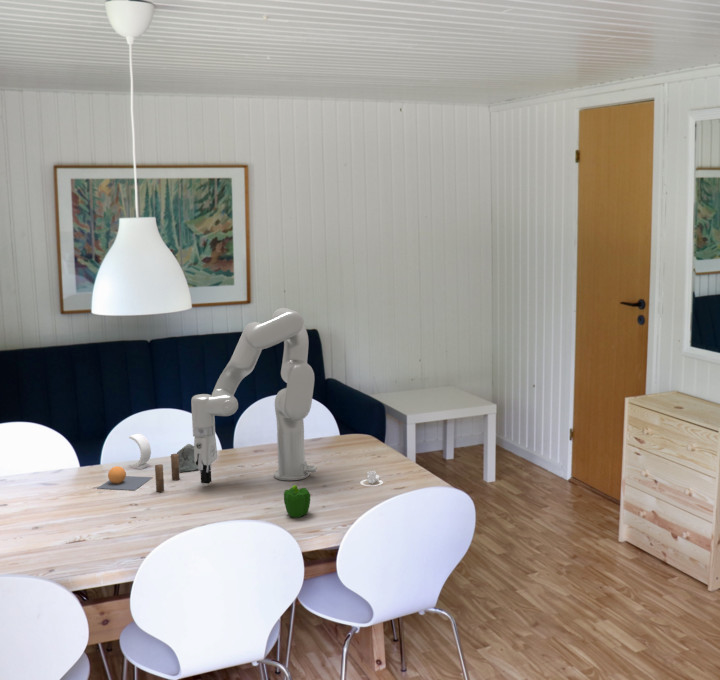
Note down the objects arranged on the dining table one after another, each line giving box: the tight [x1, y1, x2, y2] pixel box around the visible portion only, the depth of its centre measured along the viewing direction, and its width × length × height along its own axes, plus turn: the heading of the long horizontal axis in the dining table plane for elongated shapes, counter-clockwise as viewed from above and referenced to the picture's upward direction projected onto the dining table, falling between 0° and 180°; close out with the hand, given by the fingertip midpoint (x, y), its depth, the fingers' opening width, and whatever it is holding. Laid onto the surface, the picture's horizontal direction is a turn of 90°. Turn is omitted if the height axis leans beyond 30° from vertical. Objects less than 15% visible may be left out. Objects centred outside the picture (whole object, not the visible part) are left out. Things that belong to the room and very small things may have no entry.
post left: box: [154, 464, 165, 493], centre depth 276 cm, size 3×3×9 cm
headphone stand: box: [128, 433, 152, 470], centre depth 304 cm, size 5×6×12 cm
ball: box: [107, 465, 127, 484], centre depth 285 cm, size 6×6×6 cm
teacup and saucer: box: [359, 470, 384, 487], centre depth 282 cm, size 9×8×4 cm
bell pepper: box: [283, 484, 311, 518], centre depth 251 cm, size 8×8×10 cm
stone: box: [176, 443, 198, 473], centre depth 301 cm, size 10×10×10 cm
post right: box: [170, 453, 180, 481], centre depth 288 cm, size 3×3×9 cm
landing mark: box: [96, 475, 154, 491], centre depth 285 cm, size 14×14×1 cm
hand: (206, 482), depth 280 cm, fingers closed
